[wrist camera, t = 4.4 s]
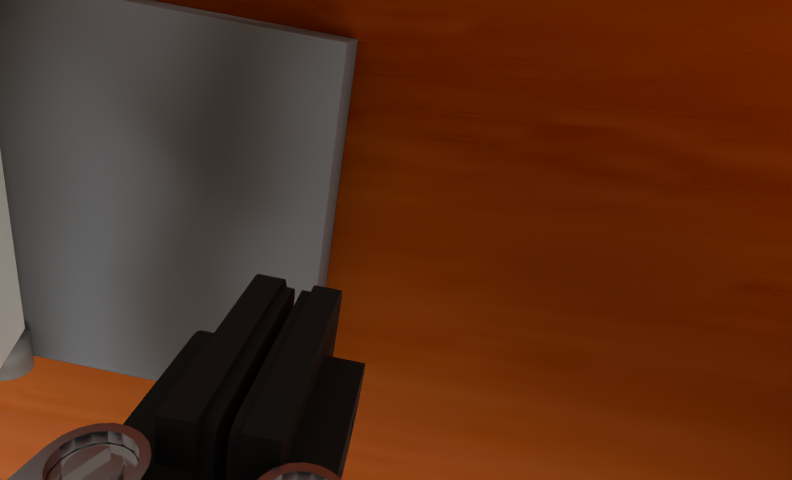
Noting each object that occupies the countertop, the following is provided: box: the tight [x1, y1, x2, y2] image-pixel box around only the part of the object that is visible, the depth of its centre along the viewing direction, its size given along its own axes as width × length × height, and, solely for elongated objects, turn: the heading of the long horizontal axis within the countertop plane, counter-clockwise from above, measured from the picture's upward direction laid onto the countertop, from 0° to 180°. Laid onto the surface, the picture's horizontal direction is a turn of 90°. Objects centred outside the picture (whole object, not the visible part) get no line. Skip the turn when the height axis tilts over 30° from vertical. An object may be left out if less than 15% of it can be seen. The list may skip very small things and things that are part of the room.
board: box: [0, 0, 358, 381], centre depth 15 cm, size 18×11×3 cm, turn 80°
